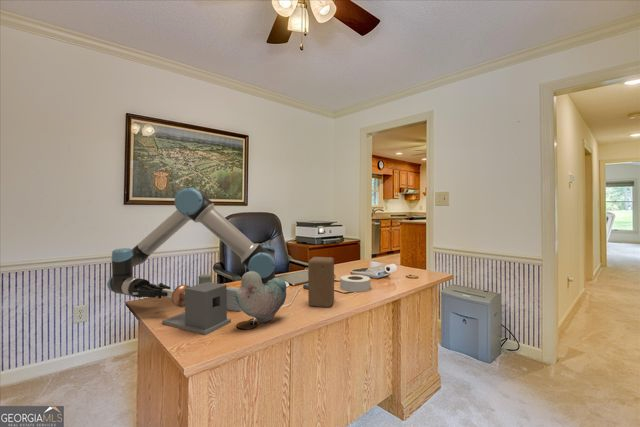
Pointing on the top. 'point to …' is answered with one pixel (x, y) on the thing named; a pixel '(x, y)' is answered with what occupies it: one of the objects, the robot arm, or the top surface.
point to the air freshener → (205, 278)
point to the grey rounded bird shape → (260, 296)
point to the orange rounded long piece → (179, 296)
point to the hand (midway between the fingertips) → (174, 294)
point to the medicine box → (232, 299)
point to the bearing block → (202, 309)
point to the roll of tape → (355, 283)
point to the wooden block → (321, 281)
